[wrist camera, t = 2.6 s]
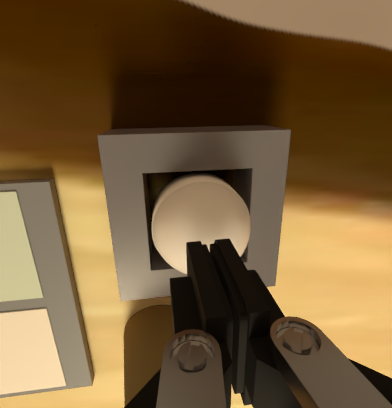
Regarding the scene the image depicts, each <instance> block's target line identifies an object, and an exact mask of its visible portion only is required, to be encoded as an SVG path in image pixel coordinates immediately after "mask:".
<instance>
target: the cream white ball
mask: <svg viewBox="0 0 392 408" xmlns="http://www.w3.org/2000/svg"><path fill="white" fill-rule="evenodd" d="M249 237H250V215H249V211H248V208H247V206H246V204H245V202H244V201H243V199H242V198H241V197H240V196H239V195H238V193H237V192H236V191H235V190H234V189H233V188H232V187H231V186H230V185H229V184H228V183H227V182H226V181H225V180H223V179H222V178H220V177H218V176H216V175H214V174H210V173H205V172H192V173H187V174H183V175H181V176H178V177H176V178H175V179H173V180H172V181H170V182H169V183H168V184H167V185H165V186H164V187H163V189H162V190H161V191H160V193H159V194H158V196H157V198H156V200H155V203H154V206H153V213H152V238H153V241H154V245H155V247H156V249H157V250H158V252H159V253H160V255H161V256H162V257H163V259H164V260H165V261H166V262H167V263H168V264H169V265H170V266H172V267H173V268H175V269H176V270H178V271H180V272H182V273H185V274H187V256H186V242H194V241H201V243H202V244H206V245H207V247H208V250H209V252H210V244H214V242H215V240H217V239H230V240H231V242H232V244H233V245H234V247H235V249H236V251H237V252H238V254H239V256H240V257H241V255H242V254H243V252H244V251H245V249H246V246H247V244H248V241H249Z"/></svg>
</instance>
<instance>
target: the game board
mask: <svg viewBox="0 0 392 408" xmlns="http://www.w3.org/2000/svg"><path fill="white" fill-rule="evenodd" d="M93 380H94V373H93V368H92V363H91V358H90V353H89V348H88V343H87V338H86V334H85V329H84V324H83V319H82V314H81V309H80V304H79V300H78V295H77V290H76V285H75V280H74V275H73V270H72V265H71V261H70V256H69V251H68V246H67V241H66V236H65V231H64V226H63V222H62V217H61V212H60V207H59V202H58V197H57V192H56V187H55V183H54V179H33V180H11V181H0V398H4V397H11V396H19V395H26V394H34V393H41V392H49V391H56V390H63V389H71V388H78V387H86V386H92V385H93Z"/></svg>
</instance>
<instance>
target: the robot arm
mask: <svg viewBox="0 0 392 408" xmlns="http://www.w3.org/2000/svg"><path fill="white" fill-rule="evenodd" d="M186 256H187V276H186V277H176V278H170V294H171V309H172V321H173V332H174V336H173V337H171V338H170V339H169V341H168V342H167V343H166V345H165V348H164V352H163V359H162V366H161V368H160V370H159V371H158V372H157V373H156V374H155V375H154V376H153V377H152V378H151V379H150V380H149V381H148V382H147V384H146V385H145V386H144V387H143V388H142V389H141V390H140V391H139V392H138V393H137V394H136V395H135V397H134V398H133V399H132V400H131V401H130V402H129V403H128V404H127V405H126V406H125V407H124V408H230V407H231V383H232V387H233V390H234V393H235V394H237V393H240V394H241V397H242V400H243V403H244V405H250V404H252V406H253V407H254V408H392V378H389V377H387V376H385V375H383V374H381V373H379V372H376V371H374V370H372V369H370V368H368V367H366V366H363V365H361V364H359V363H357V362H355V361H353V360H350V359H348V358H347V357H346V356H345V355H344V354H343V353H342V352H341V351H340V350H339V349H338V348H337V347H336V346H335V345H334V344H333V342H332V341H331V340H330V339H329V338H328V337H327V336H326V335H325V334H324V333H323V332H322V331H321V330H320V329H319V328H318V327H317V326H315V325H314V324H312V323H311V322H309V321H307V320H304V319H301V318H298V317H285V316H284V315H283V313H282V311H281V310H280V308H279V307H278V305H277V303H276V302H275V300H274V299H273V297H272V295H271V294H270V292H269V290H268V289H267V287H266V286H265V284H264V282H263V281H262V279H261V278H260V276H259V274H258V273H257V272H256V270H247V268H246V266H245V265H244V263H243V261H242V259H241V258H240V256H239V254H238V252H237V251H236V249H235V247H234V245H233V244H232V242H231V240H230V239H217V240H215V242H214V244H210V252H209V250H208V247H207V245H206V244H202V243H201V241H194V242H186Z"/></svg>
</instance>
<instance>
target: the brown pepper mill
mask: <svg viewBox="0 0 392 408" xmlns="http://www.w3.org/2000/svg"><path fill="white" fill-rule="evenodd" d="M173 336H174V332H173V321H172V309H171V306H167V305H157V306H151V307H148V308H145V309H143V310H141V311H139V312H137V313H136V314H135V315H134V316H133V317H132V318H130V320H129V322H128V323H127V325H126V326H125V331H124V390H125V406H126V405H127V404H128V403H129V402H130V401H131V400H132V399H133V398H134V397H135V395H136V394H137V393H138V392H139V391H140V390H141V389H142V388H143V387H144V386H145V385H146V384H147V382H148V381H149V380H150V379H151V378H152V377H153V376H154V375H155V374H156V373H157V372H158V371H159V370H160V368H161V366H162V359H163V352H164V348H165V345H166V343H167V342H168V341H169V339H170V338H171V337H173Z"/></svg>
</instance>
